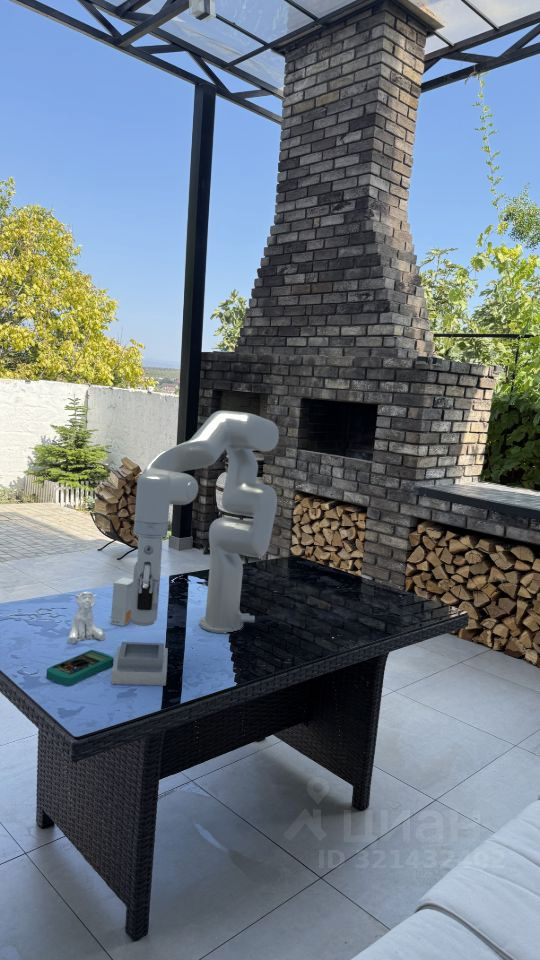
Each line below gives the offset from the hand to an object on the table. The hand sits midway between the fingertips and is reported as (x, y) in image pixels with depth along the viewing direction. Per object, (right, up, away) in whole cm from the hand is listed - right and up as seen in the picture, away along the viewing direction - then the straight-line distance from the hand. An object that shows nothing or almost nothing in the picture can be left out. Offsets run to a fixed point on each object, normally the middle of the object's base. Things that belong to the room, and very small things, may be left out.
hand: (145, 603), depth 146 cm
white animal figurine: (-20, -13, +19) cm, 31 cm away
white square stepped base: (-1, -16, +2) cm, 16 cm away
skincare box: (-13, -12, +32) cm, 37 cm away
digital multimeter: (-15, -16, -1) cm, 22 cm away
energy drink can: (0, -4, +1) cm, 5 cm away
